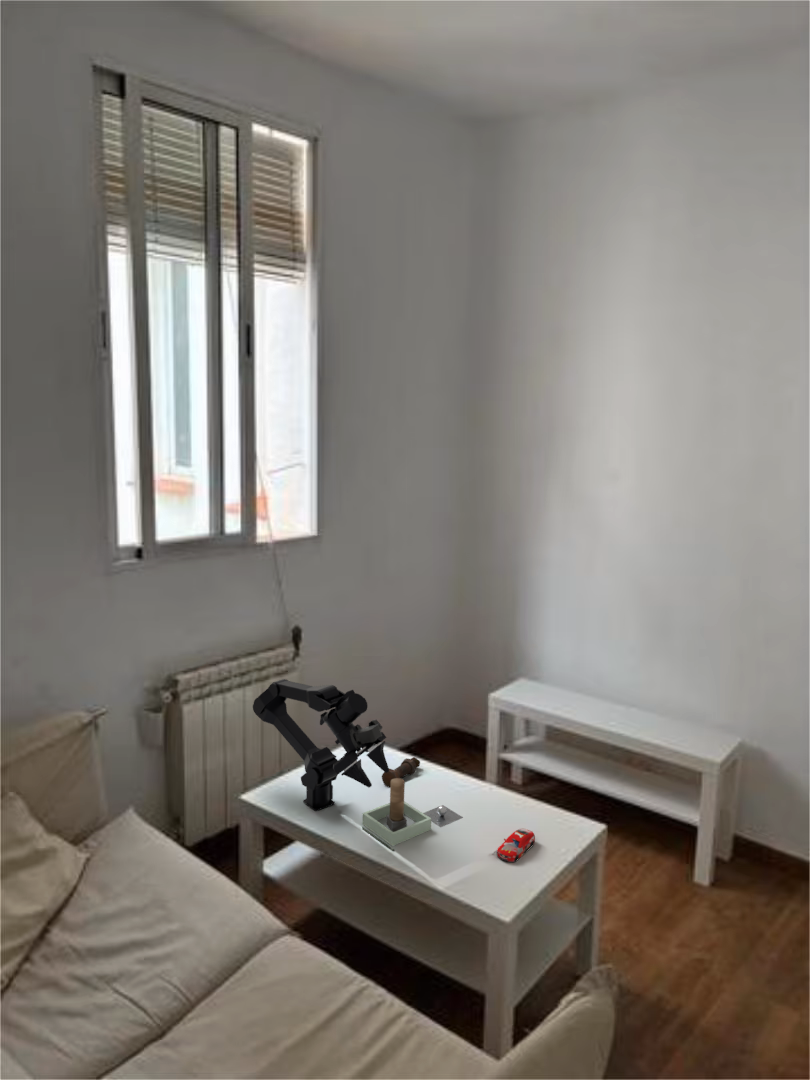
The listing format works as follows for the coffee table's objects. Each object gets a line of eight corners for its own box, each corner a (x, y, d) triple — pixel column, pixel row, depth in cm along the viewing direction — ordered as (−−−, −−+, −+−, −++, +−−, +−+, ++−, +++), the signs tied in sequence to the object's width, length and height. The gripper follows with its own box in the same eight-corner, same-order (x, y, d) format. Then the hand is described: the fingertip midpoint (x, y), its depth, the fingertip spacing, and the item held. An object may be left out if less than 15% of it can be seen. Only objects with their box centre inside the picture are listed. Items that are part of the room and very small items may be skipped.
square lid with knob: (440, 832, 206) (441, 817, 205) (420, 819, 212) (420, 804, 211) (462, 822, 211) (463, 808, 210) (442, 810, 217) (443, 795, 216)
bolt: (417, 774, 241) (390, 792, 228) (405, 762, 243) (378, 780, 230) (426, 760, 239) (400, 778, 226) (414, 749, 240) (387, 766, 228)
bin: (392, 851, 196) (393, 834, 196) (362, 829, 206) (362, 813, 205) (430, 834, 204) (431, 818, 204) (399, 814, 214) (400, 798, 213)
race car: (511, 867, 192) (512, 852, 191) (492, 858, 195) (493, 843, 195) (538, 843, 202) (539, 829, 201) (520, 836, 205) (520, 821, 205)
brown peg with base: (392, 833, 202) (393, 786, 200) (386, 825, 206) (387, 779, 204) (406, 830, 204) (407, 783, 202) (400, 822, 208) (401, 776, 205)
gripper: (344, 726, 197) (381, 778, 194) (381, 702, 213) (416, 750, 210) (317, 748, 202) (353, 800, 199) (355, 723, 218) (389, 770, 215)
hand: (379, 779), depth 206 cm, fingers open, 9 cm apart
